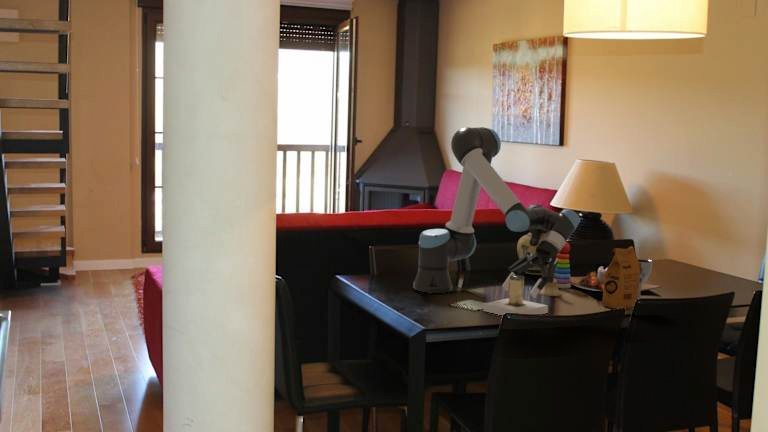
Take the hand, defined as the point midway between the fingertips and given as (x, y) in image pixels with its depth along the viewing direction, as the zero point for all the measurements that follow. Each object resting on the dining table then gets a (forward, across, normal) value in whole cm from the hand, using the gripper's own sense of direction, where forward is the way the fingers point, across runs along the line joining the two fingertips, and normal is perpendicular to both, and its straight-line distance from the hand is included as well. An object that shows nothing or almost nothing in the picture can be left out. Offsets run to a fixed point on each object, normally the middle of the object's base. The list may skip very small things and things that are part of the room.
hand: (517, 292), depth 305 cm
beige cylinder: (+5, +1, -5) cm, 8 cm away
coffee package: (-24, -10, -36) cm, 44 cm away
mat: (+10, +16, -1) cm, 19 cm away
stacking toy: (-29, +25, -41) cm, 56 cm away
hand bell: (-20, +18, -31) cm, 41 cm away
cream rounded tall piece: (-39, +53, -50) cm, 83 cm away
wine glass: (-36, -5, -48) cm, 60 cm away
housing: (+5, +1, -5) cm, 8 cm away
